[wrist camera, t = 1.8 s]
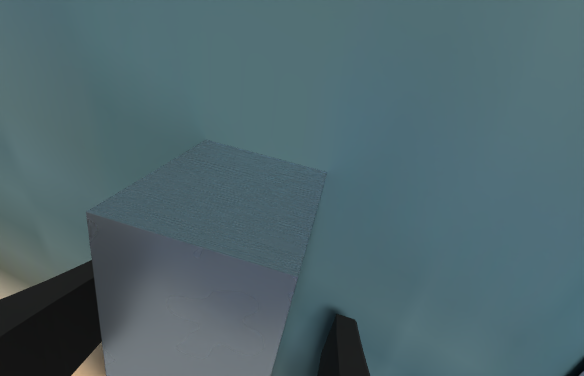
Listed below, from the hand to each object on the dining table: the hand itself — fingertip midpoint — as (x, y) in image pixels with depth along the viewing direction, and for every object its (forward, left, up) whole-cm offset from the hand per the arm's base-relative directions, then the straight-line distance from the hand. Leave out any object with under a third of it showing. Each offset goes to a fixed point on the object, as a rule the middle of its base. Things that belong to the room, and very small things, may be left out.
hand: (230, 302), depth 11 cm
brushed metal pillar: (0, 0, -2) cm, 2 cm away
